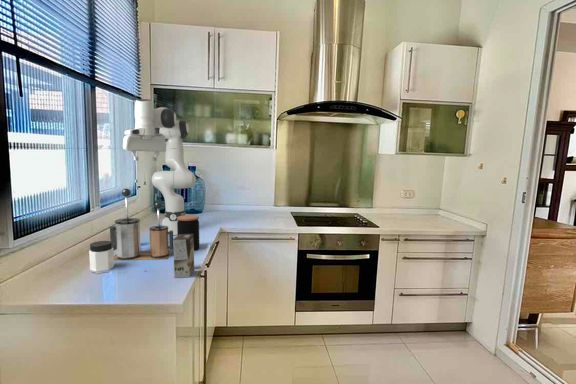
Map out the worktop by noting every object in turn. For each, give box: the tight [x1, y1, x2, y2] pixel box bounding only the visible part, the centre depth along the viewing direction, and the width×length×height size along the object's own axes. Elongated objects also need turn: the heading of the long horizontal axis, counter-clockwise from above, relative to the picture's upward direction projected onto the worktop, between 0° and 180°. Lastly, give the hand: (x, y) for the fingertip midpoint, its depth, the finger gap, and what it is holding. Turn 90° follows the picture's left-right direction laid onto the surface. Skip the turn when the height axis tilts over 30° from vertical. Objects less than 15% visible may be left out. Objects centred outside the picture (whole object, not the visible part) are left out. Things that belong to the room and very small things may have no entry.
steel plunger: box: [121, 188, 131, 221], centre depth 153 cm, size 7×7×22 cm
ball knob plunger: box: [154, 201, 163, 228], centre depth 155 cm, size 6×6×17 cm
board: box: [114, 249, 174, 262], centre depth 157 cm, size 14×26×1 cm, turn 98°
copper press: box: [148, 225, 174, 258], centre depth 157 cm, size 8×10×14 cm
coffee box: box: [173, 234, 195, 278], centre depth 137 cm, size 9×6×16 cm
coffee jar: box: [177, 214, 200, 252], centre depth 168 cm, size 11×11×18 cm
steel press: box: [109, 217, 142, 261], centre depth 154 cm, size 10×12×18 cm
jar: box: [88, 240, 115, 275], centre depth 139 cm, size 9×8×12 cm
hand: (145, 160), depth 162 cm, fingers open, 8 cm apart
